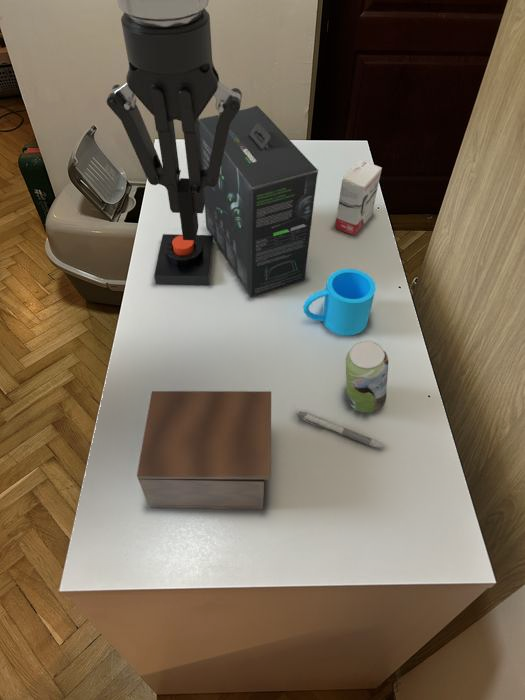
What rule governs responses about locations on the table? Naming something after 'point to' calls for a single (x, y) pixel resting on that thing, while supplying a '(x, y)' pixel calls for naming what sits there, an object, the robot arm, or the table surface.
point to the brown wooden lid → (207, 435)
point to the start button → (182, 246)
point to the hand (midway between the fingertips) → (190, 232)
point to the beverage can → (366, 376)
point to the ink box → (357, 197)
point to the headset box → (259, 201)
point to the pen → (338, 429)
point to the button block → (184, 262)
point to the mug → (345, 302)
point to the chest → (204, 493)
